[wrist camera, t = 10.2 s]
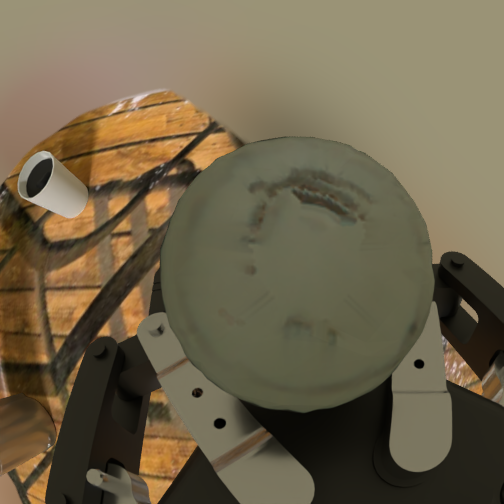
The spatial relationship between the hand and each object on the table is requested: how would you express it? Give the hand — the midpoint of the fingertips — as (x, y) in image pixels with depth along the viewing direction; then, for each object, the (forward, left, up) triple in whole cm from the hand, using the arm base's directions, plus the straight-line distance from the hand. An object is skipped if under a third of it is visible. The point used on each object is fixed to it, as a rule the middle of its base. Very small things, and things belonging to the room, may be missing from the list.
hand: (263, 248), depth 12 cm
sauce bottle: (+1, -1, -11) cm, 12 cm away
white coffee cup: (-30, -4, -24) cm, 39 cm away
